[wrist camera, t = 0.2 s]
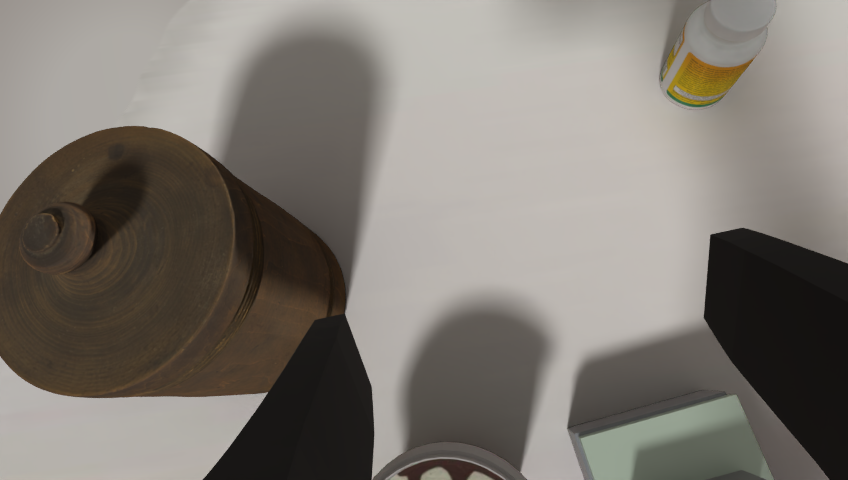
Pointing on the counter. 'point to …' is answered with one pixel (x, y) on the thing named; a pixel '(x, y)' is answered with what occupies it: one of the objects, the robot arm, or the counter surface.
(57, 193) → the wooden container
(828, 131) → the counter surface
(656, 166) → the counter surface
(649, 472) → the lid
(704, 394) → the tub
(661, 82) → the supplement bottle
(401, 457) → the food container
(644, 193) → the counter surface
